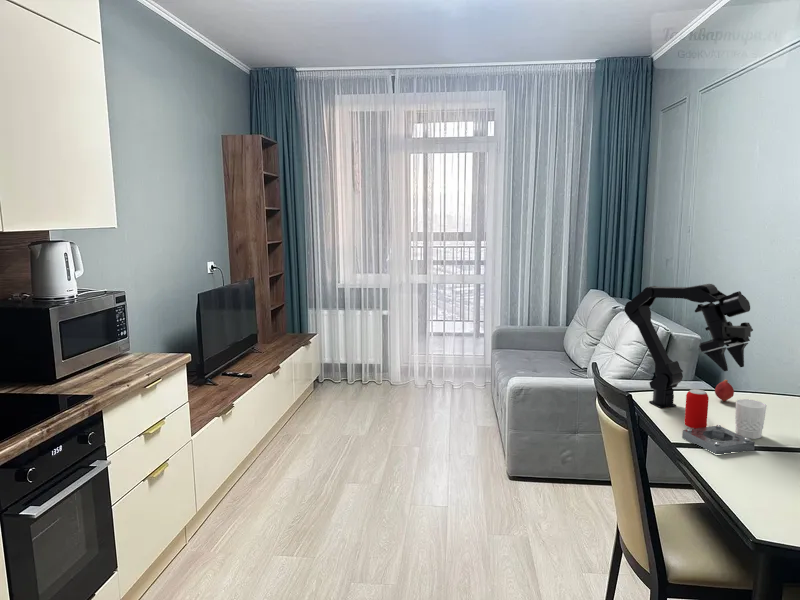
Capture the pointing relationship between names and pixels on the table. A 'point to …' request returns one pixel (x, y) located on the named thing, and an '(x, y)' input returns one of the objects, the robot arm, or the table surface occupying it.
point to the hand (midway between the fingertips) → (734, 369)
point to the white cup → (749, 418)
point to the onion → (724, 390)
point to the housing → (730, 438)
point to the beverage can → (696, 409)
